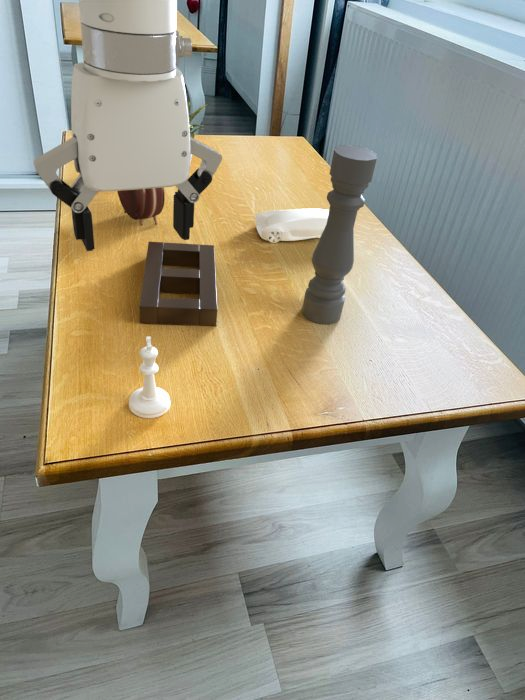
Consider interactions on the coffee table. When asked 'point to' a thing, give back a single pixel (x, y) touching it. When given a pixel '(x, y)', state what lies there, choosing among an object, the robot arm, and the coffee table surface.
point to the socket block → (179, 285)
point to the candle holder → (338, 233)
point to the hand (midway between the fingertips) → (135, 239)
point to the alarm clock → (142, 203)
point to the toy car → (291, 224)
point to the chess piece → (149, 388)
